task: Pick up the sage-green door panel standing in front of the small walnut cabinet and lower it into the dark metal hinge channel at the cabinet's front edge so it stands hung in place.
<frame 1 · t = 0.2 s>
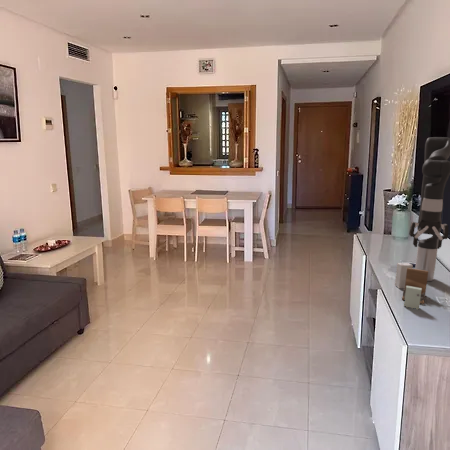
hand: (426, 247, 171), 27 cm above the tv stand, tool pointing down, fingers open, 8 cm apart
door: (411, 307, 178), on the tv stand
cabinet: (413, 297, 189), on the tv stand
skincare box: (402, 287, 202), on the tv stand
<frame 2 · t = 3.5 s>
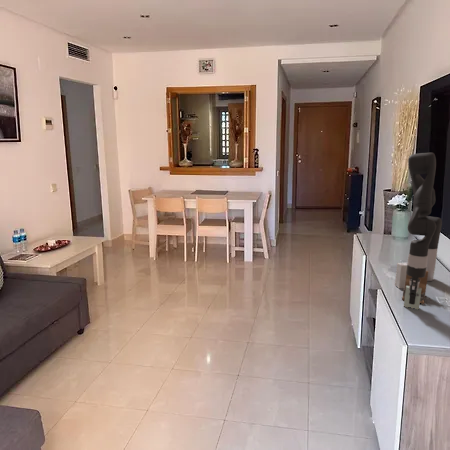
hand: (412, 302, 178), 2 cm above the tv stand, tool pointing down, fingers closed on door, 2 cm apart
door: (411, 307, 178), on the tv stand, touching gripper
everything else where it was.
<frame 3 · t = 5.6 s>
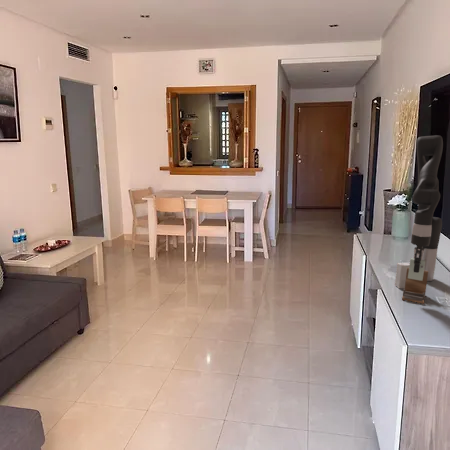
hand: (416, 271, 184), 14 cm above the tv stand, tool pointing down, fingers closed on door
door: (415, 278, 184), point 10 cm above the tv stand, touching gripper
everything else where it was.
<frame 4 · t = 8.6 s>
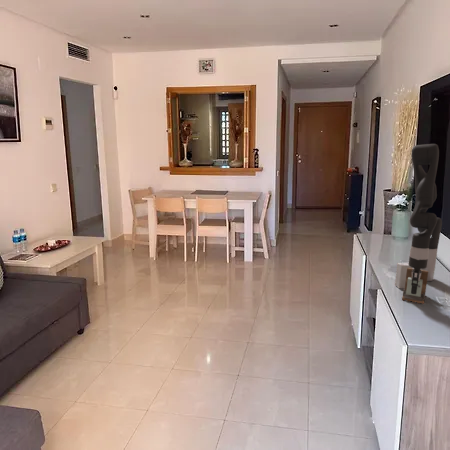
hand: (414, 290, 185), 4 cm above the tv stand, tool pointing down, fingers open, 8 cm apart
door: (412, 298, 186), point 1 cm above the tv stand, touching cabinet
everything else where it was.
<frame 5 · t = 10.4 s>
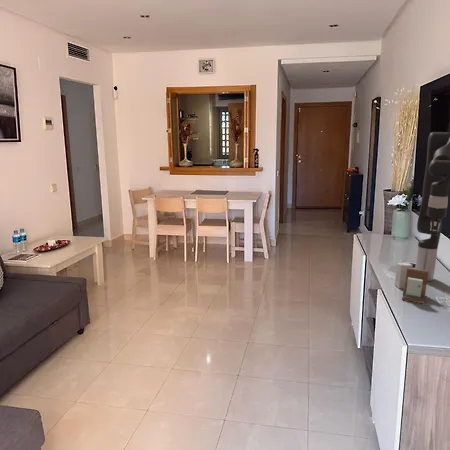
hand: (433, 241, 184), 27 cm above the tv stand, tool pointing down, fingers open, 8 cm apart
nothing on the tv stand moved.
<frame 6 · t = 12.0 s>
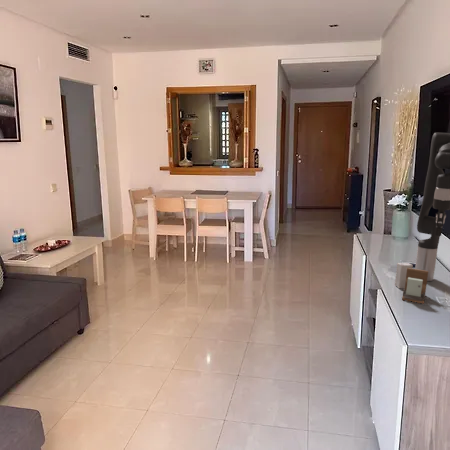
hand: (438, 233, 185), 30 cm above the tv stand, tool pointing down, fingers open, 8 cm apart
nothing on the tv stand moved.
at the end: door 0.4 cm from the target spot on the cabinet, point 1.0 cm above the cabinet's base; door tilted 0°; the gripper is holding nothing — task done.
